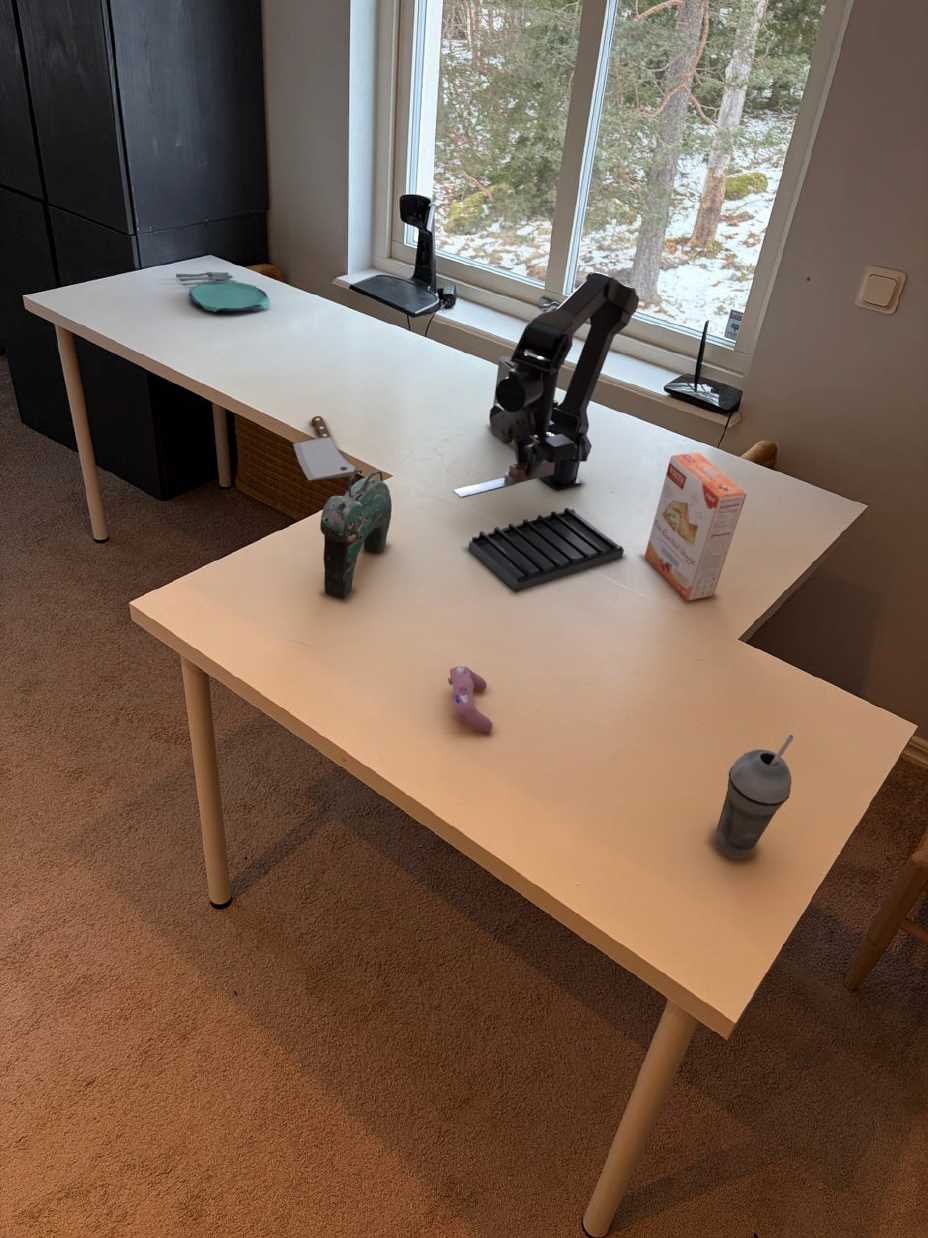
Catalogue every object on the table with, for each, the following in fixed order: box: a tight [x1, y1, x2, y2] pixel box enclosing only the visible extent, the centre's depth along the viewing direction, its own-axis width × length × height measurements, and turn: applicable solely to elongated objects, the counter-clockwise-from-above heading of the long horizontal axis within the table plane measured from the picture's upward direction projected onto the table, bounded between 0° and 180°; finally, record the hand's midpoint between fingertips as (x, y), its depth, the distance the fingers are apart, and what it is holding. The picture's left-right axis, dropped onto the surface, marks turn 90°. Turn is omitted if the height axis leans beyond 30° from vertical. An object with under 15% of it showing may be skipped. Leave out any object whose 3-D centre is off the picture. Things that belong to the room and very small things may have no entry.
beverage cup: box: [714, 734, 794, 860], centre depth 113 cm, size 7×7×20 cm
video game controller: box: [447, 665, 494, 733], centre depth 132 cm, size 10×5×7 cm, turn 5°
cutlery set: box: [175, 271, 270, 313], centre depth 250 cm, size 20×30×2 cm, turn 30°
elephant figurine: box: [319, 468, 393, 600], centre depth 152 cm, size 20×6×20 cm, turn 160°
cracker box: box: [644, 451, 747, 602], centre depth 160 cm, size 14×6×21 cm, turn 23°
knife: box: [452, 460, 555, 499], centre depth 171 cm, size 21×3×3 cm, turn 124°
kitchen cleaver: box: [292, 415, 356, 482], centre depth 189 cm, size 24×1×10 cm
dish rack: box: [467, 507, 625, 593], centre depth 167 cm, size 24×14×3 cm, turn 124°
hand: (525, 473), depth 174 cm, fingers closed on knife, 2 cm apart
